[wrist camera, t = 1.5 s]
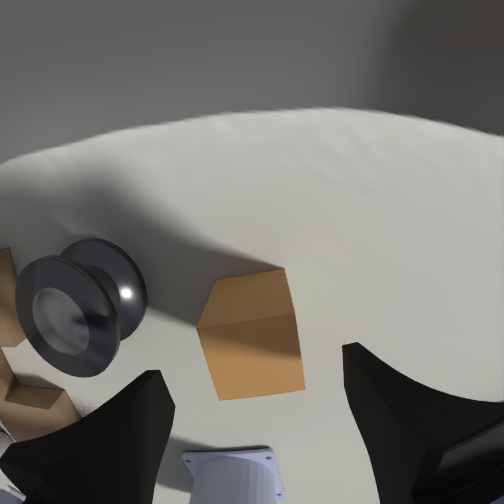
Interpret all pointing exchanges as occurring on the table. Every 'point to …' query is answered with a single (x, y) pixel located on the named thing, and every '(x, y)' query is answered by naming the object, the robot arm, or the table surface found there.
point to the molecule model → (4, 442)
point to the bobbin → (81, 305)
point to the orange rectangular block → (251, 336)
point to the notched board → (6, 385)
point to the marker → (17, 494)
